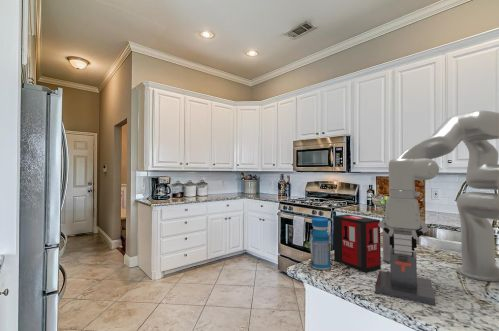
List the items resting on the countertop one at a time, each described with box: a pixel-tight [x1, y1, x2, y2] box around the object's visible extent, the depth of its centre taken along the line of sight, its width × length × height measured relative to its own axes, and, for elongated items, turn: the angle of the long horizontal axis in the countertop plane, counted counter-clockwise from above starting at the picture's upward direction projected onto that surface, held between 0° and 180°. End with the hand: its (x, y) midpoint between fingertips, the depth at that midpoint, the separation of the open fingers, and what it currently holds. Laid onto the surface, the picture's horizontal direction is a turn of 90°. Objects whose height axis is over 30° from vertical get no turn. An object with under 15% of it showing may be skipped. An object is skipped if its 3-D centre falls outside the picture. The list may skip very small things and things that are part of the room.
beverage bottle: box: [309, 217, 332, 271], centre depth 108 cm, size 8×8×20 cm
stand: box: [374, 249, 436, 306], centre depth 86 cm, size 16×16×12 cm
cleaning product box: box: [333, 213, 382, 274], centre depth 110 cm, size 16×9×20 cm, turn 27°
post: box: [393, 228, 412, 257], centre depth 87 cm, size 5×5×17 cm
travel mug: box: [381, 216, 394, 265], centre depth 113 cm, size 6×7×20 cm
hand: (403, 248), depth 87 cm, fingers closed on post, 5 cm apart
